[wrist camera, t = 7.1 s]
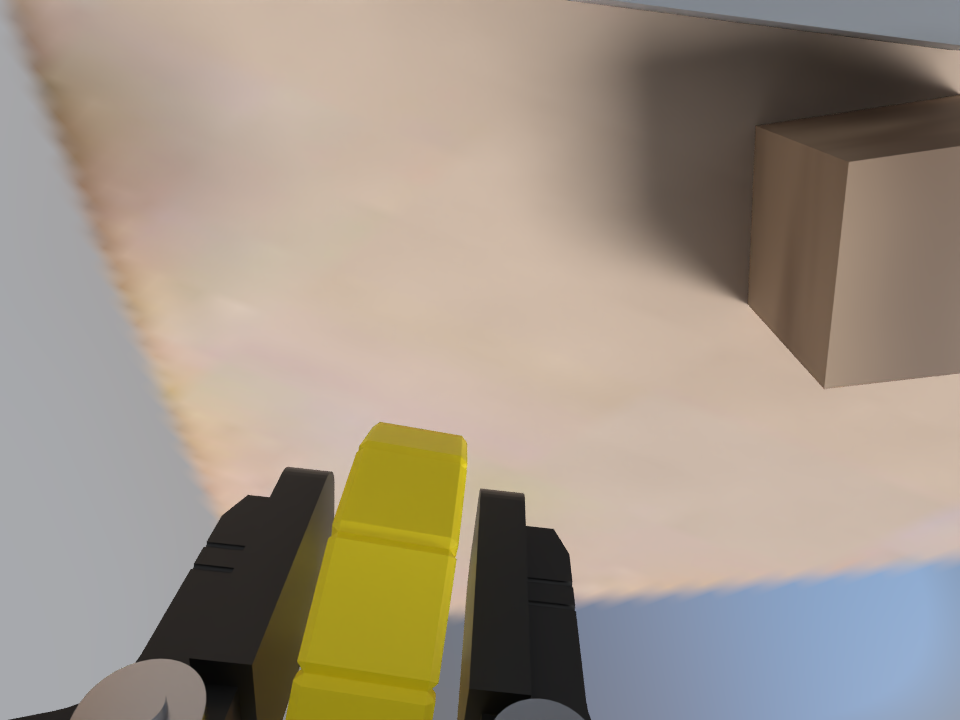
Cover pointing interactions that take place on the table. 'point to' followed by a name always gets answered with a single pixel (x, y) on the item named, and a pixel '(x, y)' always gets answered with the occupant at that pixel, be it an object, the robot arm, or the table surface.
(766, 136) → the walnut block
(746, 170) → the table surface
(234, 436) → the table surface
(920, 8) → the slate tray
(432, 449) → the watch
